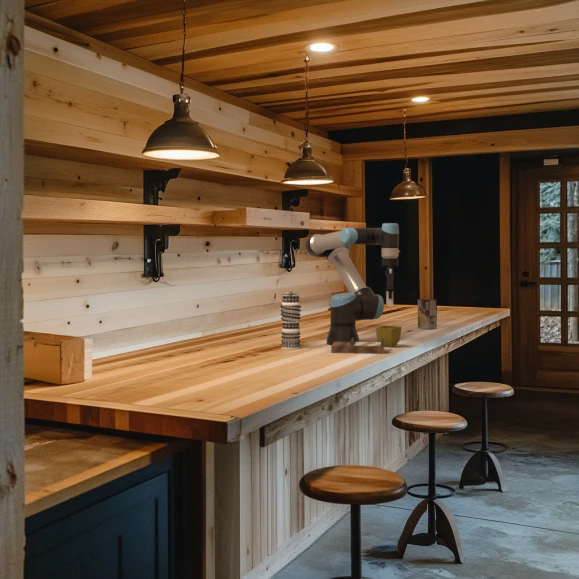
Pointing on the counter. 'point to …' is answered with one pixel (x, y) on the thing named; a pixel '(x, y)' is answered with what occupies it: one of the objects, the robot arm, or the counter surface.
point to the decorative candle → (290, 320)
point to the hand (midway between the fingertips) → (389, 305)
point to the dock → (358, 347)
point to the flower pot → (389, 335)
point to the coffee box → (427, 314)
